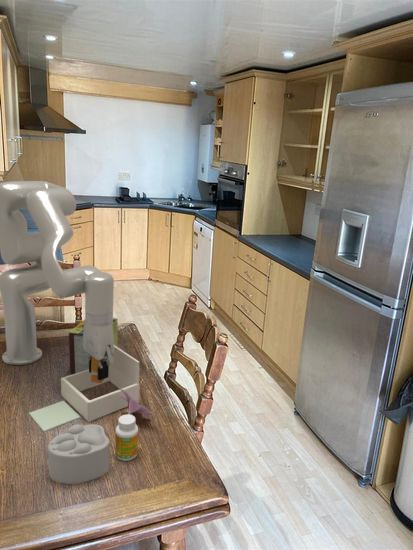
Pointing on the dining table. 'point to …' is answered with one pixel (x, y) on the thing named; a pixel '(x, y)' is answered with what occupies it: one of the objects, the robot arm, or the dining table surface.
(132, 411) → the lily
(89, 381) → the carton
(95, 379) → the supplement box
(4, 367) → the dining table surface
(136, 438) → the supplement bottle
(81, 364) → the protein box
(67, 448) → the lumpy-topped squat cylinder
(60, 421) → the mat
